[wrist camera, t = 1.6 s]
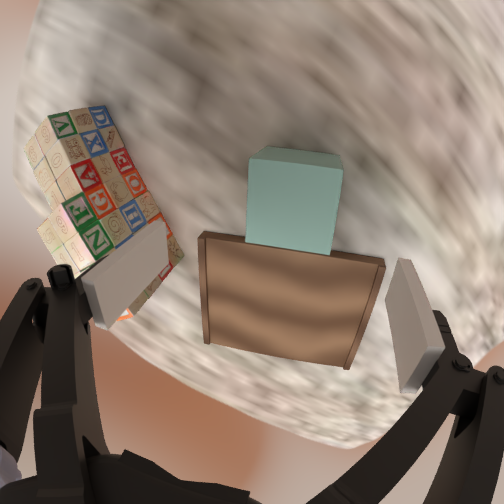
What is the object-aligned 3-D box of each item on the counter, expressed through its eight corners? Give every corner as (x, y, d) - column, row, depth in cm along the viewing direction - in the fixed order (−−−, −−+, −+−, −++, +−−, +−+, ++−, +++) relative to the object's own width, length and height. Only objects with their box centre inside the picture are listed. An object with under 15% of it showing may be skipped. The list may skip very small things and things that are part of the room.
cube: (266, 146, 27) (249, 158, 21) (339, 155, 26) (343, 170, 20) (262, 212, 31) (245, 242, 25) (329, 222, 30) (329, 255, 24)
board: (204, 231, 33) (197, 238, 32) (383, 258, 30) (386, 267, 28) (208, 334, 41) (204, 343, 39) (349, 359, 37) (348, 370, 36)
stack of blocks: (77, 131, 31) (2, 154, 21) (105, 104, 29) (24, 118, 18) (151, 269, 38) (97, 327, 28) (186, 256, 36) (133, 319, 25)
